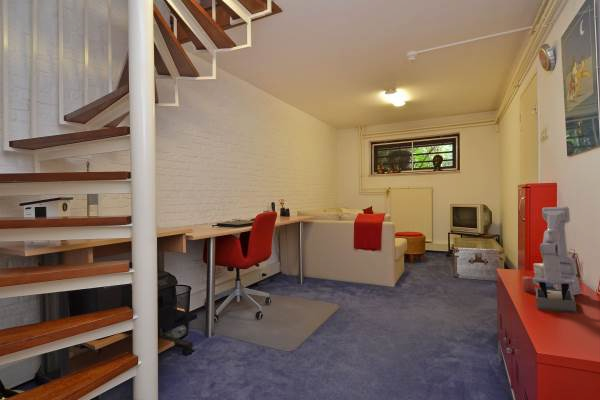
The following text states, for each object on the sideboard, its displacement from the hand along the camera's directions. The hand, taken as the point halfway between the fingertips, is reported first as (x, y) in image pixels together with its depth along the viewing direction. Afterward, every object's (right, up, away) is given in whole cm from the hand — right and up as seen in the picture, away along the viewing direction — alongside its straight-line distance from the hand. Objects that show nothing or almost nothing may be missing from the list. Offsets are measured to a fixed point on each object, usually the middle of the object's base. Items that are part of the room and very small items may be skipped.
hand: (554, 300), depth 139 cm
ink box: (+20, -3, +32) cm, 38 cm away
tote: (+3, -3, +3) cm, 5 cm away
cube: (0, -2, 0) cm, 2 cm away
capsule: (+7, -3, +26) cm, 27 cm away
